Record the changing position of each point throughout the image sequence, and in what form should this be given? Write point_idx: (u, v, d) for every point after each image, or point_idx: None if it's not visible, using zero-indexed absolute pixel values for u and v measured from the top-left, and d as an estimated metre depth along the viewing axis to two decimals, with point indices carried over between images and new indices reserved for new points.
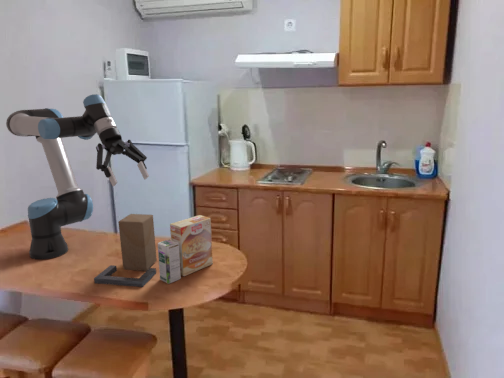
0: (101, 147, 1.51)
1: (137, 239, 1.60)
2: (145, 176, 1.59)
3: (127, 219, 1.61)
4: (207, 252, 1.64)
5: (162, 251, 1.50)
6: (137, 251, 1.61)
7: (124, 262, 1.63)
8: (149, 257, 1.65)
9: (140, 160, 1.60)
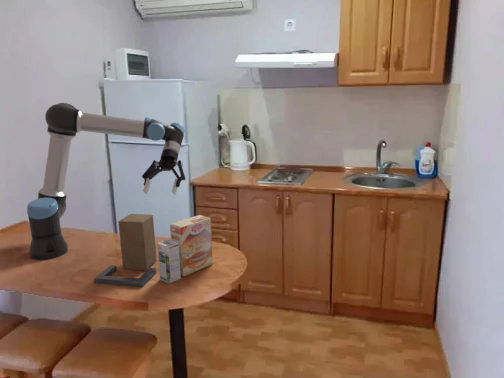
0: None
1: (137, 239, 1.60)
2: (146, 191, 1.85)
3: (127, 219, 1.61)
4: (207, 252, 1.64)
5: (162, 251, 1.50)
6: (137, 251, 1.61)
7: (124, 262, 1.63)
8: (149, 257, 1.65)
9: (149, 179, 1.89)
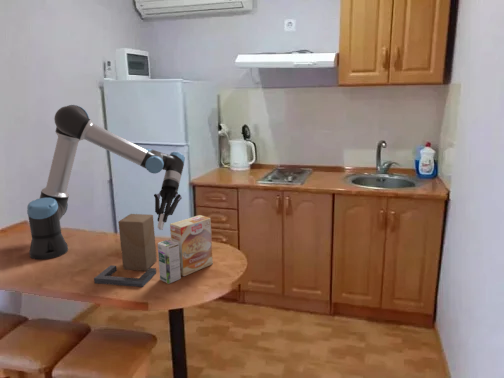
0: None
1: (137, 239, 1.60)
2: None
3: (127, 219, 1.61)
4: (207, 252, 1.64)
5: (162, 251, 1.50)
6: (137, 251, 1.61)
7: (124, 262, 1.63)
8: (149, 257, 1.65)
9: (163, 214, 1.88)
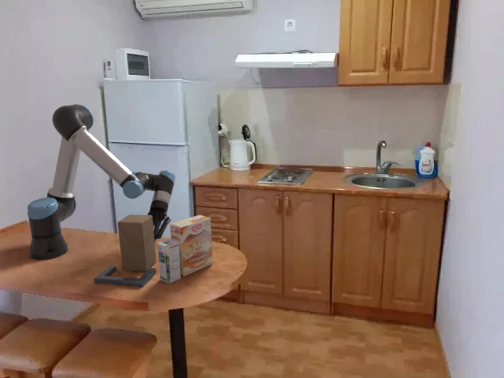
0: None
1: (136, 240, 1.59)
2: None
3: (126, 220, 1.60)
4: (207, 252, 1.64)
5: (162, 251, 1.50)
6: (136, 252, 1.60)
7: (123, 263, 1.62)
8: (149, 258, 1.64)
9: None
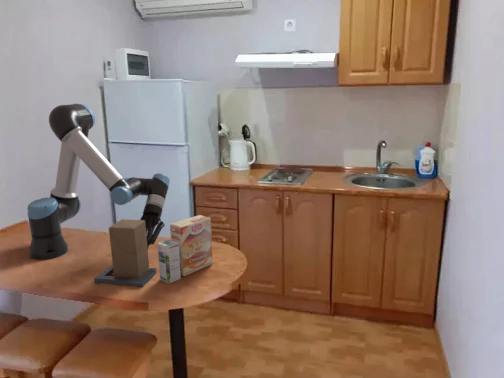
0: None
1: (128, 246, 1.53)
2: None
3: (117, 225, 1.54)
4: (207, 252, 1.64)
5: (162, 251, 1.50)
6: (128, 258, 1.54)
7: (115, 270, 1.56)
8: (141, 264, 1.58)
9: None
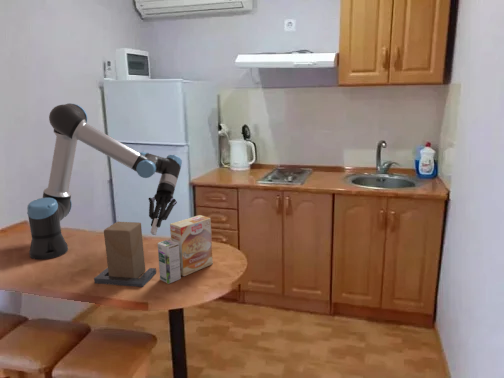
0: None
1: (123, 249, 1.50)
2: None
3: (113, 228, 1.52)
4: (207, 252, 1.64)
5: (162, 251, 1.50)
6: (123, 261, 1.52)
7: (110, 273, 1.54)
8: (137, 268, 1.55)
9: (156, 218, 1.82)
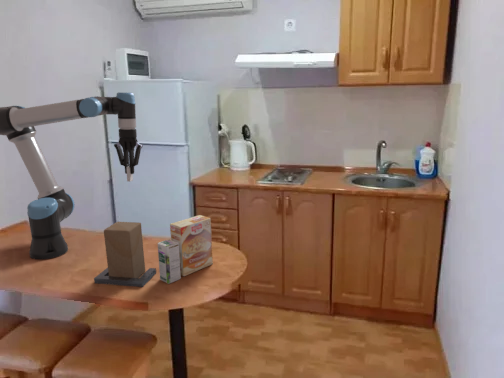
0: None
1: (123, 249, 1.50)
2: None
3: (113, 228, 1.52)
4: (207, 252, 1.64)
5: (162, 251, 1.50)
6: (123, 261, 1.52)
7: (110, 273, 1.54)
8: (137, 268, 1.55)
9: (128, 164, 1.89)
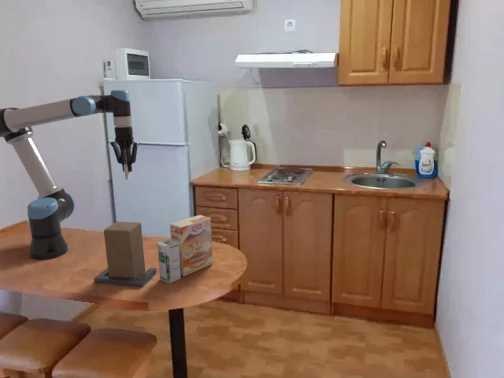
0: None
1: (123, 249, 1.50)
2: None
3: (113, 228, 1.52)
4: (207, 252, 1.64)
5: (162, 251, 1.50)
6: (123, 261, 1.52)
7: (110, 273, 1.54)
8: (137, 268, 1.55)
9: (126, 161, 1.88)
